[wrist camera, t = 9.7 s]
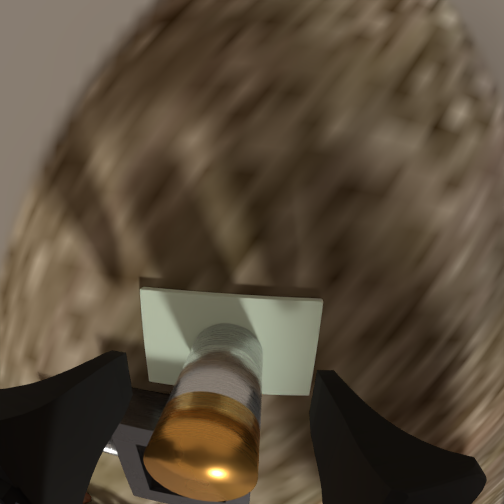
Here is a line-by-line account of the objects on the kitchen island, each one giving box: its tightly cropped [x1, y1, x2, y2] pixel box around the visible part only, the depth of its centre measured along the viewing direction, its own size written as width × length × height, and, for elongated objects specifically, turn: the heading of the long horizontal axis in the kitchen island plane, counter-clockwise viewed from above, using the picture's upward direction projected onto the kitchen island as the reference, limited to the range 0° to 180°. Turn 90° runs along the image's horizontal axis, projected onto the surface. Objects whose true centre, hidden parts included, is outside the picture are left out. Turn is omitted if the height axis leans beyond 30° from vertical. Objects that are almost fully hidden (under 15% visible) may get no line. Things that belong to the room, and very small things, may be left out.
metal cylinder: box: [143, 323, 263, 502], centre depth 10 cm, size 3×3×7 cm
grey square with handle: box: [103, 388, 250, 504], centre depth 14 cm, size 13×7×3 cm, turn 88°
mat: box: [140, 287, 323, 395], centre depth 14 cm, size 8×5×1 cm, turn 87°
